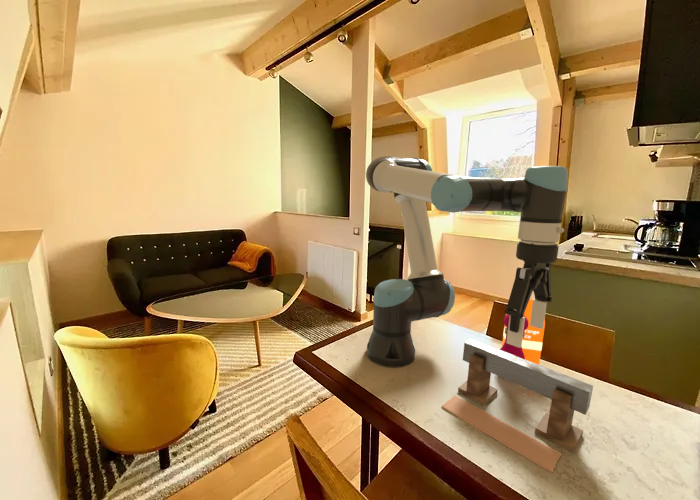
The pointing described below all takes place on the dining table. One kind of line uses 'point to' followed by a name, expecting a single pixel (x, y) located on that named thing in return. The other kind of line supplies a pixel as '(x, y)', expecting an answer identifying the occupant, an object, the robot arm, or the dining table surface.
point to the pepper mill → (511, 348)
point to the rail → (530, 374)
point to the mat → (504, 433)
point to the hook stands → (552, 424)
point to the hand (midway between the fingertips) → (525, 335)
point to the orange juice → (531, 338)
